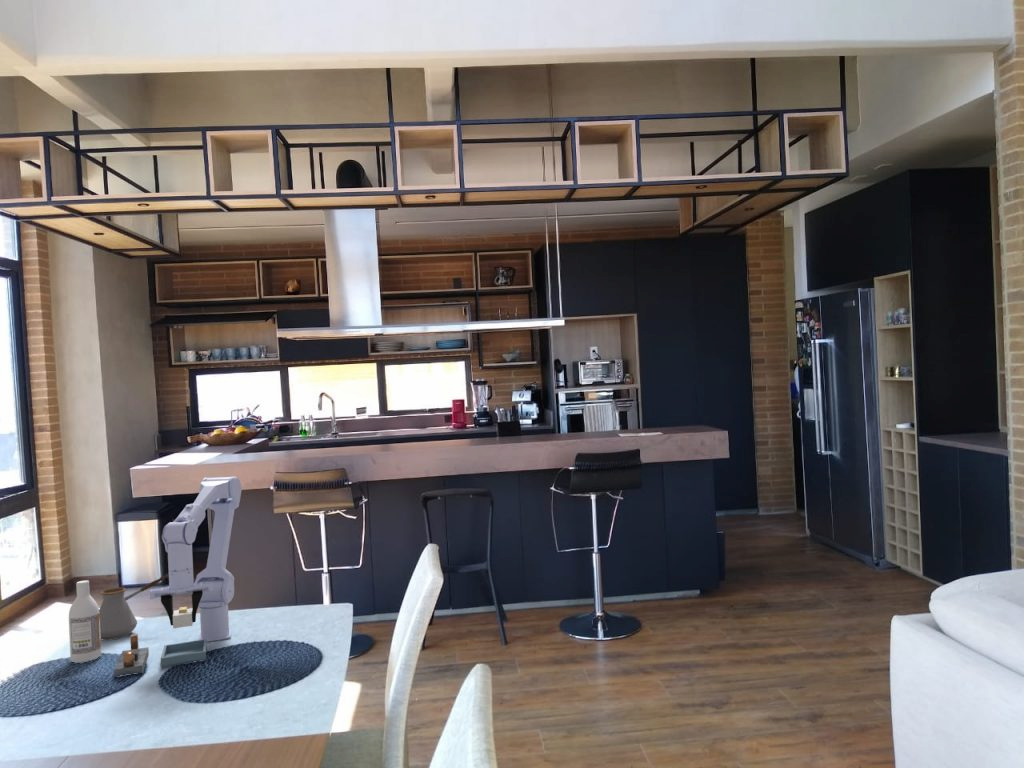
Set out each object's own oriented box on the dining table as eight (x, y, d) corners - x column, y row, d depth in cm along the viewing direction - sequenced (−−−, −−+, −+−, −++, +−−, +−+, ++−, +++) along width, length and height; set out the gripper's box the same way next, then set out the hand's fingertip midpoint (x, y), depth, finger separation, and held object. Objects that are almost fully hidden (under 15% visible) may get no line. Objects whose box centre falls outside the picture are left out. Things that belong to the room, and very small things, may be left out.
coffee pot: (94, 645, 209) (92, 590, 210) (89, 635, 219) (87, 583, 219) (178, 628, 222) (175, 576, 222) (170, 620, 231) (167, 570, 231)
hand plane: (122, 658, 196) (121, 635, 196) (148, 654, 198) (147, 631, 198) (114, 678, 182) (113, 652, 182) (142, 673, 184) (141, 648, 184)
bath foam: (104, 659, 197) (100, 581, 197) (73, 666, 192) (70, 586, 193) (98, 653, 202) (95, 577, 203) (68, 659, 198) (65, 582, 198)
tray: (164, 654, 198) (164, 645, 198) (207, 648, 201) (206, 639, 202) (161, 668, 187) (160, 658, 187) (205, 661, 191) (205, 651, 191)
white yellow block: (174, 622, 197) (174, 607, 197) (193, 619, 198) (192, 605, 198) (173, 628, 191) (172, 613, 191) (192, 625, 193) (191, 610, 193)
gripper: (147, 575, 189) (150, 631, 188) (211, 568, 194) (213, 622, 193) (150, 570, 195) (152, 624, 195) (211, 563, 200) (214, 615, 200)
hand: (183, 622), depth 195 cm, fingers closed on white yellow block, 4 cm apart
